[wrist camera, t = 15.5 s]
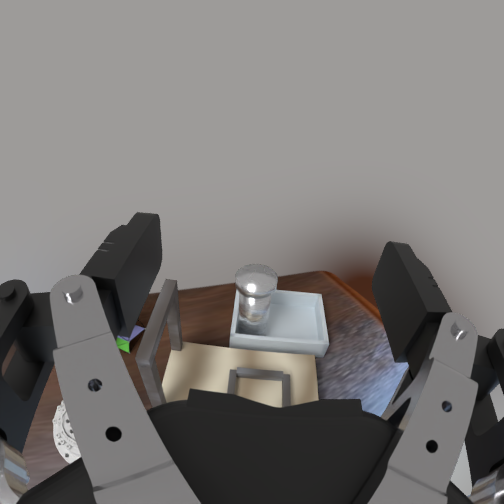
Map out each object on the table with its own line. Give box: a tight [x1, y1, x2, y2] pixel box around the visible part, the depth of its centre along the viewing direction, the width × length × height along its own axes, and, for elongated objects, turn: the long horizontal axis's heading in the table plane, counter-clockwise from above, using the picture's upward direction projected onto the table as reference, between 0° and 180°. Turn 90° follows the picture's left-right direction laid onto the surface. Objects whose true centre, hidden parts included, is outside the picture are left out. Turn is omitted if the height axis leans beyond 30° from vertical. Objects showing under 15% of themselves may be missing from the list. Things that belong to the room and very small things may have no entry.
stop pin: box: [235, 264, 278, 336], centre depth 39 cm, size 5×5×10 cm
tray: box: [229, 290, 329, 358], centre depth 43 cm, size 13×10×3 cm
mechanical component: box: [53, 401, 81, 464], centre depth 26 cm, size 10×4×10 cm
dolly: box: [135, 279, 319, 407], centre depth 30 cm, size 20×12×13 cm, turn 87°
